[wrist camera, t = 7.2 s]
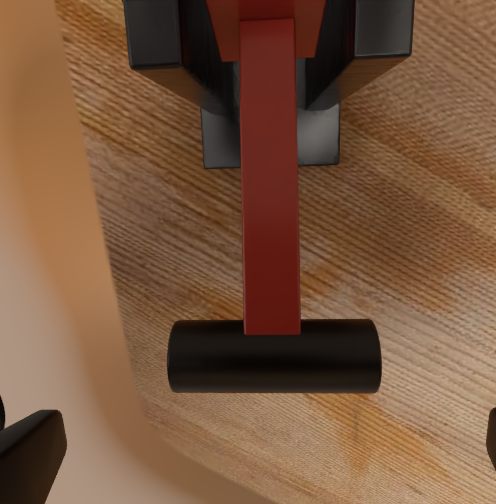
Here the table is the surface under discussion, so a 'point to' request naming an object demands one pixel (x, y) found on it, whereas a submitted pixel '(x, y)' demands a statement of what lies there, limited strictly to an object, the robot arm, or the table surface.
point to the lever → (271, 231)
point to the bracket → (307, 69)
